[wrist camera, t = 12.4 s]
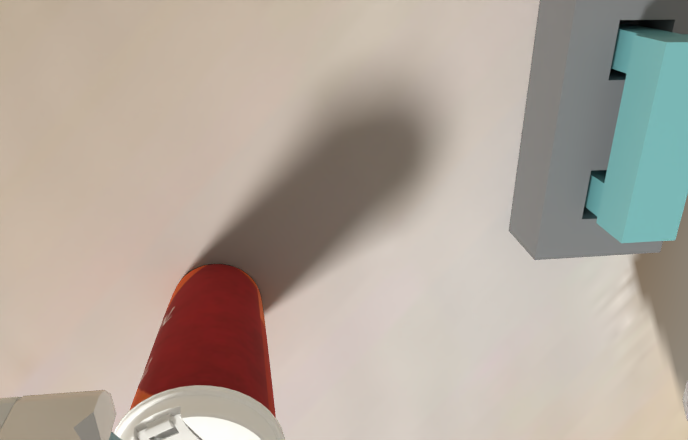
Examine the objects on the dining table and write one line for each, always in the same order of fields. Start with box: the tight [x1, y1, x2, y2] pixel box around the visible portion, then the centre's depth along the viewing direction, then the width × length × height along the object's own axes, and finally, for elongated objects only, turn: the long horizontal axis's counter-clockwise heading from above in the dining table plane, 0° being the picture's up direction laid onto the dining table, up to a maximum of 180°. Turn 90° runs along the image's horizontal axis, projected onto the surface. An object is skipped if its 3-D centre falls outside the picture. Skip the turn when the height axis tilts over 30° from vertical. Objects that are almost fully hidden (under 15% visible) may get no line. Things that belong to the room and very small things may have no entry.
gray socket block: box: [509, 0, 688, 260], centre depth 34 cm, size 16×8×4 cm, turn 0°
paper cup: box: [114, 264, 285, 440], centre depth 32 cm, size 8×8×14 cm
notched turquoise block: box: [584, 24, 688, 243], centre depth 32 cm, size 10×3×7 cm, turn 0°
